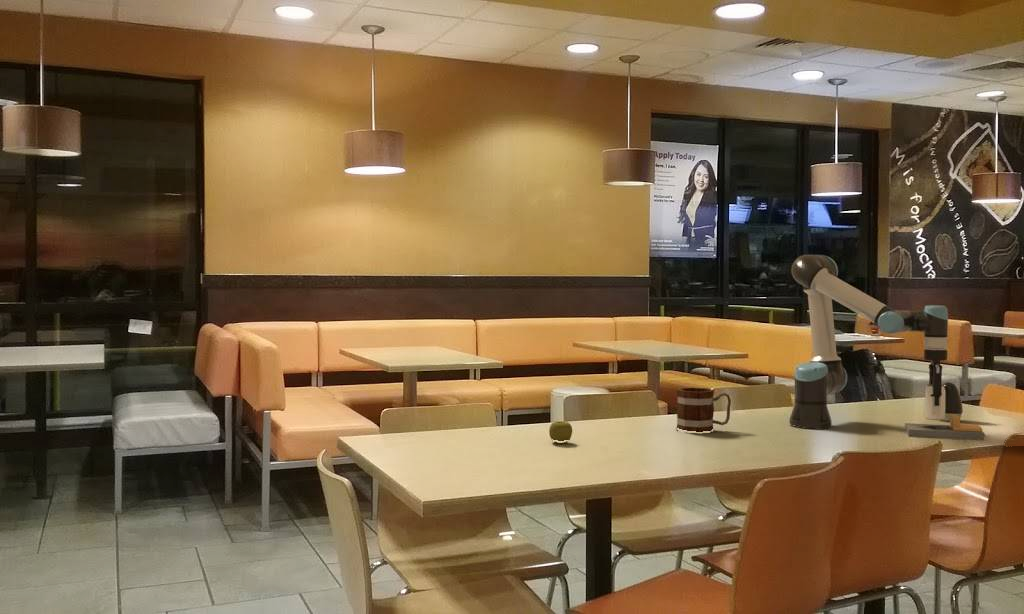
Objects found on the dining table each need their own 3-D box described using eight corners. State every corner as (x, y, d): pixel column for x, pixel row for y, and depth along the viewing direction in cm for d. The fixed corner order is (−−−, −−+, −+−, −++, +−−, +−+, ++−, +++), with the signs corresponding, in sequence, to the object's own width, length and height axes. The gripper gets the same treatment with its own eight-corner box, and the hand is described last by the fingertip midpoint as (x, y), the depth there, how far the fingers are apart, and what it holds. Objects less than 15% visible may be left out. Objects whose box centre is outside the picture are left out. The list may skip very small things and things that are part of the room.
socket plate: (908, 436, 322) (908, 429, 322) (904, 429, 335) (904, 423, 335) (984, 440, 314) (984, 433, 314) (977, 433, 328) (977, 426, 327)
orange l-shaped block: (953, 430, 319) (954, 417, 319) (950, 426, 328) (950, 413, 328) (982, 431, 317) (982, 418, 316) (977, 427, 325) (978, 414, 325)
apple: (563, 446, 302) (563, 424, 302) (544, 443, 307) (544, 422, 307) (576, 443, 308) (577, 422, 308) (558, 440, 313) (558, 419, 313)
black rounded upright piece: (928, 420, 357) (929, 381, 356) (941, 417, 363) (942, 379, 363) (954, 423, 349) (954, 384, 348) (967, 421, 355) (968, 382, 355)
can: (941, 417, 328) (941, 384, 328) (947, 420, 322) (948, 386, 321) (922, 417, 329) (922, 384, 328) (928, 420, 322) (929, 386, 322)
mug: (679, 434, 326) (679, 392, 325) (673, 427, 339) (674, 387, 339) (734, 434, 325) (735, 392, 325) (726, 428, 339) (727, 387, 338)
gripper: (951, 351, 314) (950, 417, 315) (943, 347, 332) (942, 410, 333) (927, 350, 316) (926, 416, 317) (921, 346, 335) (920, 409, 336)
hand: (934, 413), depth 325 cm, fingers closed on can, 6 cm apart
